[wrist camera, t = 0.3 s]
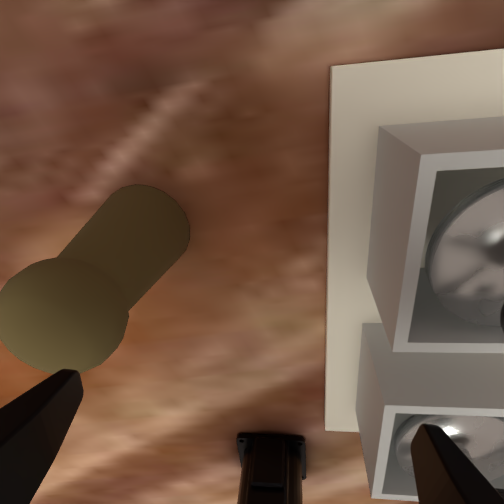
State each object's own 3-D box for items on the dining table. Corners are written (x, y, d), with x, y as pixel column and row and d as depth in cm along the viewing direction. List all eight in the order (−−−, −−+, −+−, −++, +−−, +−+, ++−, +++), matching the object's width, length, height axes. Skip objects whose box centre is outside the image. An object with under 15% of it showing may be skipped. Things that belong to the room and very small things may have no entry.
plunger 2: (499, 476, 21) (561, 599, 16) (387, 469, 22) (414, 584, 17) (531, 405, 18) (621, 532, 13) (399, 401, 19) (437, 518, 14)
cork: (180, 181, 21) (85, 279, 11) (197, 265, 24) (131, 400, 14) (90, 187, 22) (-70, 281, 12) (116, 267, 25) (3, 395, 15)
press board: (493, 426, 28) (553, 534, 22) (324, 420, 30) (332, 517, 24) (648, 33, 15) (919, 8, 9) (330, 66, 17) (353, 65, 10)
